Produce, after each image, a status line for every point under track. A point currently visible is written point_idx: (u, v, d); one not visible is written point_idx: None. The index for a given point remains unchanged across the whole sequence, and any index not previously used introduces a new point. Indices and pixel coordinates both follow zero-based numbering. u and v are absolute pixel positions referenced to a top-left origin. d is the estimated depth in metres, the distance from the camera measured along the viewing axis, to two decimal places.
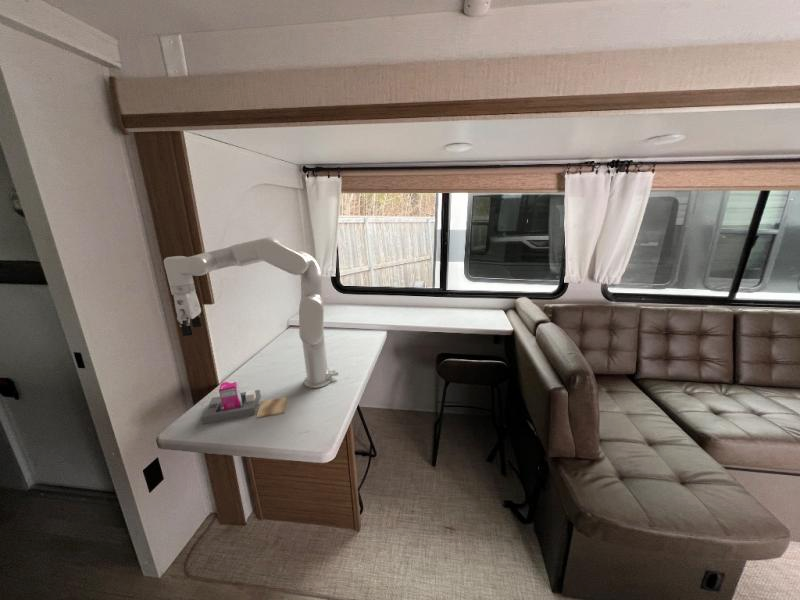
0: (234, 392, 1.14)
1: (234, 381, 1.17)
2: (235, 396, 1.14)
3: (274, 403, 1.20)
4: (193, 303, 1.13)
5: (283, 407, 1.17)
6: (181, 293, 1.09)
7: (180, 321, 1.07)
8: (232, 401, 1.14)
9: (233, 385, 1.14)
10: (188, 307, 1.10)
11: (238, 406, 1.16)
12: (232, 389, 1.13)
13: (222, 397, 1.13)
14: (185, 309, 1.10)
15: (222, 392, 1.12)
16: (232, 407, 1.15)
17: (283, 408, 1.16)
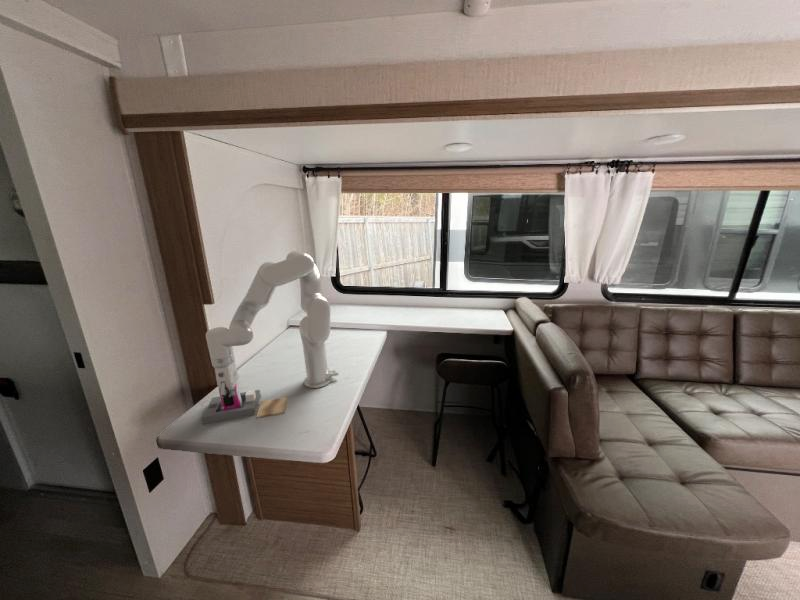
0: (234, 392, 1.14)
1: None
2: (235, 396, 1.14)
3: (274, 403, 1.20)
4: (233, 373, 1.13)
5: (283, 407, 1.17)
6: (222, 365, 1.09)
7: (223, 395, 1.09)
8: None
9: None
10: (229, 379, 1.10)
11: (238, 406, 1.16)
12: None
13: None
14: (226, 381, 1.10)
15: None
16: (232, 407, 1.15)
17: (283, 408, 1.16)
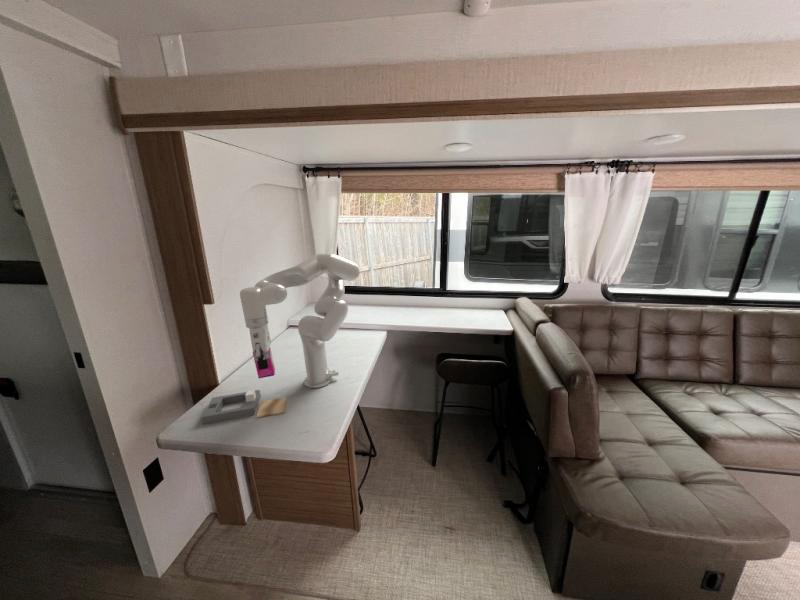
0: (268, 355, 1.10)
1: None
2: (269, 359, 1.10)
3: (274, 403, 1.20)
4: (266, 335, 1.09)
5: (283, 407, 1.17)
6: (257, 326, 1.05)
7: (258, 357, 1.05)
8: None
9: None
10: (264, 340, 1.06)
11: (272, 370, 1.12)
12: (266, 352, 1.09)
13: (256, 360, 1.09)
14: (261, 342, 1.06)
15: None
16: (266, 371, 1.11)
17: (283, 408, 1.16)
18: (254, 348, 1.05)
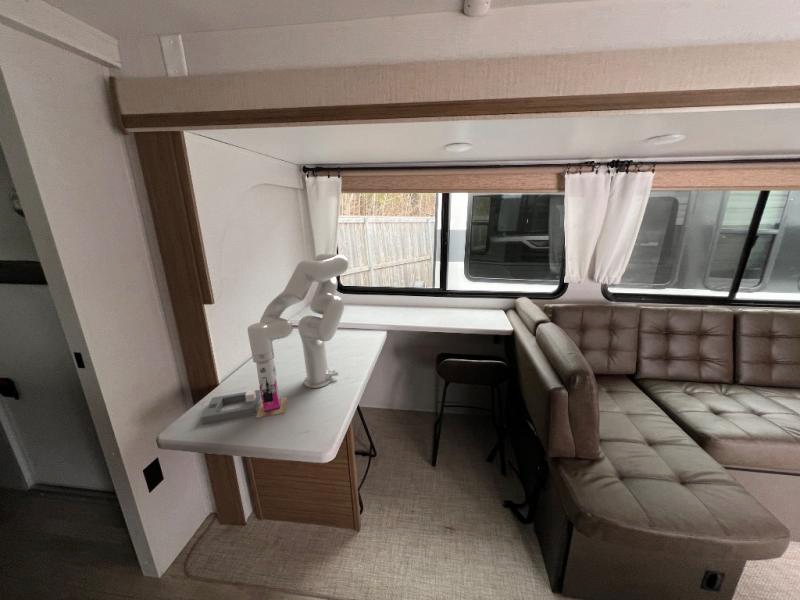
0: (274, 389, 1.13)
1: None
2: (275, 393, 1.14)
3: None
4: (272, 368, 1.13)
5: (283, 407, 1.17)
6: (263, 361, 1.09)
7: (264, 391, 1.08)
8: None
9: None
10: (270, 374, 1.10)
11: (277, 404, 1.15)
12: (272, 387, 1.13)
13: (262, 394, 1.12)
14: (267, 377, 1.09)
15: None
16: (271, 404, 1.15)
17: (283, 408, 1.16)
18: (260, 381, 1.09)
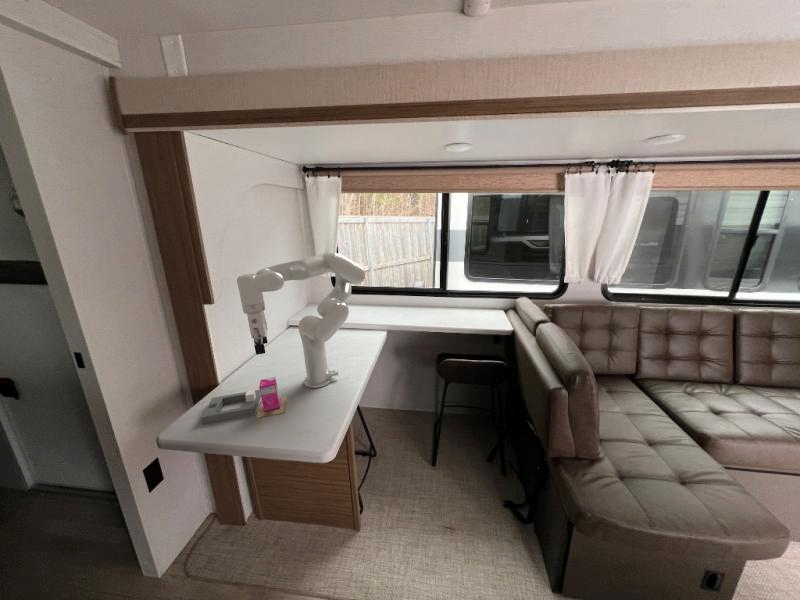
0: (274, 389, 1.13)
1: (273, 378, 1.16)
2: (275, 393, 1.14)
3: None
4: (264, 321, 1.12)
5: (283, 407, 1.17)
6: (255, 312, 1.08)
7: (256, 340, 1.06)
8: (271, 399, 1.14)
9: (273, 382, 1.13)
10: (262, 325, 1.09)
11: (277, 404, 1.15)
12: (272, 387, 1.13)
13: (262, 394, 1.12)
14: (259, 328, 1.08)
15: (262, 389, 1.12)
16: (271, 404, 1.15)
17: (283, 408, 1.16)
18: (252, 331, 1.08)
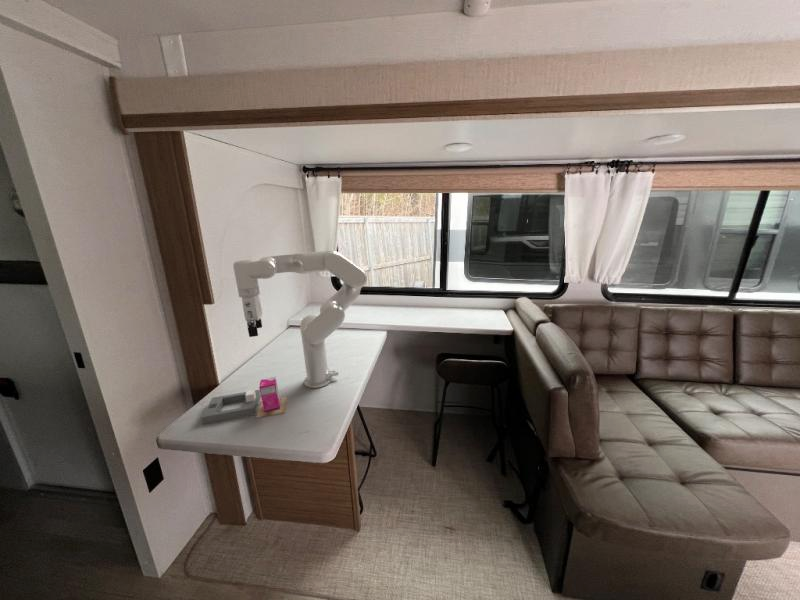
0: (274, 389, 1.13)
1: (273, 378, 1.16)
2: (275, 393, 1.14)
3: None
4: (258, 305, 1.18)
5: (283, 407, 1.17)
6: (249, 296, 1.14)
7: (249, 323, 1.12)
8: (271, 399, 1.14)
9: (273, 382, 1.13)
10: (255, 309, 1.15)
11: (277, 404, 1.15)
12: (272, 387, 1.13)
13: (262, 394, 1.12)
14: (252, 311, 1.14)
15: (262, 389, 1.12)
16: (271, 404, 1.15)
17: (283, 408, 1.16)
18: (246, 314, 1.14)
